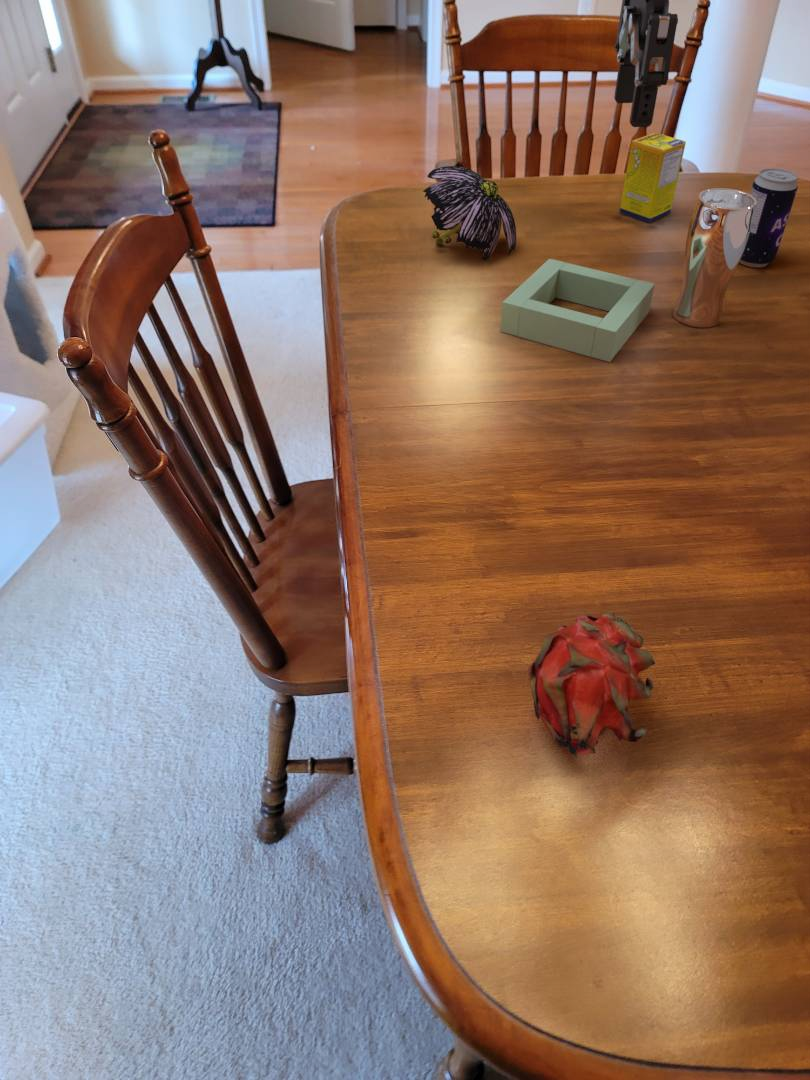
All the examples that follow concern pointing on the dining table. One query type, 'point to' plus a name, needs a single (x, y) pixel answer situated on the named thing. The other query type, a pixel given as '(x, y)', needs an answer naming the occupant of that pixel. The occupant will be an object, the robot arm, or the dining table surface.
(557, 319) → the socket
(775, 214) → the beverage can
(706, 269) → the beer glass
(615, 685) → the dragon fruit
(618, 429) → the dining table surface
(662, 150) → the supplement box
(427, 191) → the decorative flower
